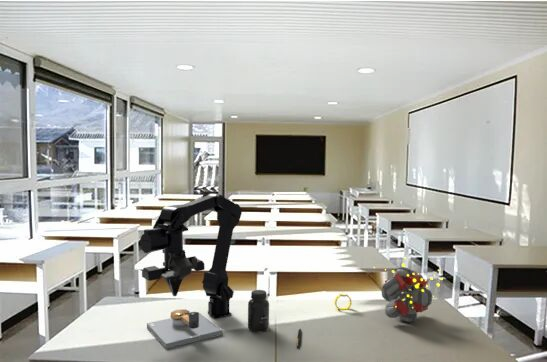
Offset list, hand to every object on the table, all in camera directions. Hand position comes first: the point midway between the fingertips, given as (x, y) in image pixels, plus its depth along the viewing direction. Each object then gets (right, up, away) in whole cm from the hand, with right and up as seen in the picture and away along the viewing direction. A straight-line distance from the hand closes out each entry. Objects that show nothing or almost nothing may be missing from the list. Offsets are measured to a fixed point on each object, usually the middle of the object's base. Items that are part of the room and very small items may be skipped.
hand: (174, 295), depth 133 cm
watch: (+56, -11, +22) cm, 61 cm away
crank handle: (+3, -8, 0) cm, 9 cm away
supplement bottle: (+26, -12, +4) cm, 29 cm away
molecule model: (+76, -12, +11) cm, 77 cm away
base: (+3, -12, +1) cm, 12 cm away
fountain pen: (+39, -13, -4) cm, 41 cm away
